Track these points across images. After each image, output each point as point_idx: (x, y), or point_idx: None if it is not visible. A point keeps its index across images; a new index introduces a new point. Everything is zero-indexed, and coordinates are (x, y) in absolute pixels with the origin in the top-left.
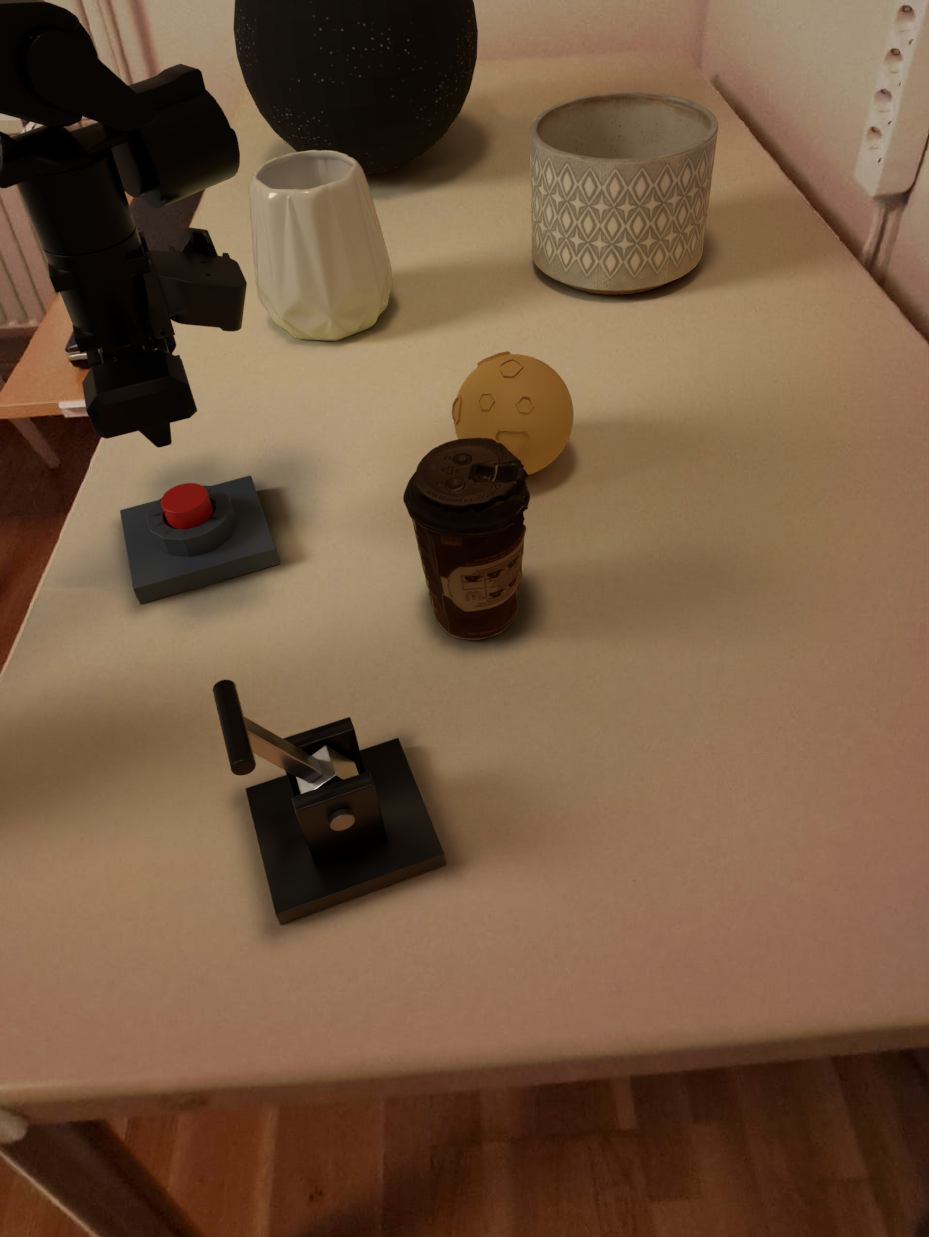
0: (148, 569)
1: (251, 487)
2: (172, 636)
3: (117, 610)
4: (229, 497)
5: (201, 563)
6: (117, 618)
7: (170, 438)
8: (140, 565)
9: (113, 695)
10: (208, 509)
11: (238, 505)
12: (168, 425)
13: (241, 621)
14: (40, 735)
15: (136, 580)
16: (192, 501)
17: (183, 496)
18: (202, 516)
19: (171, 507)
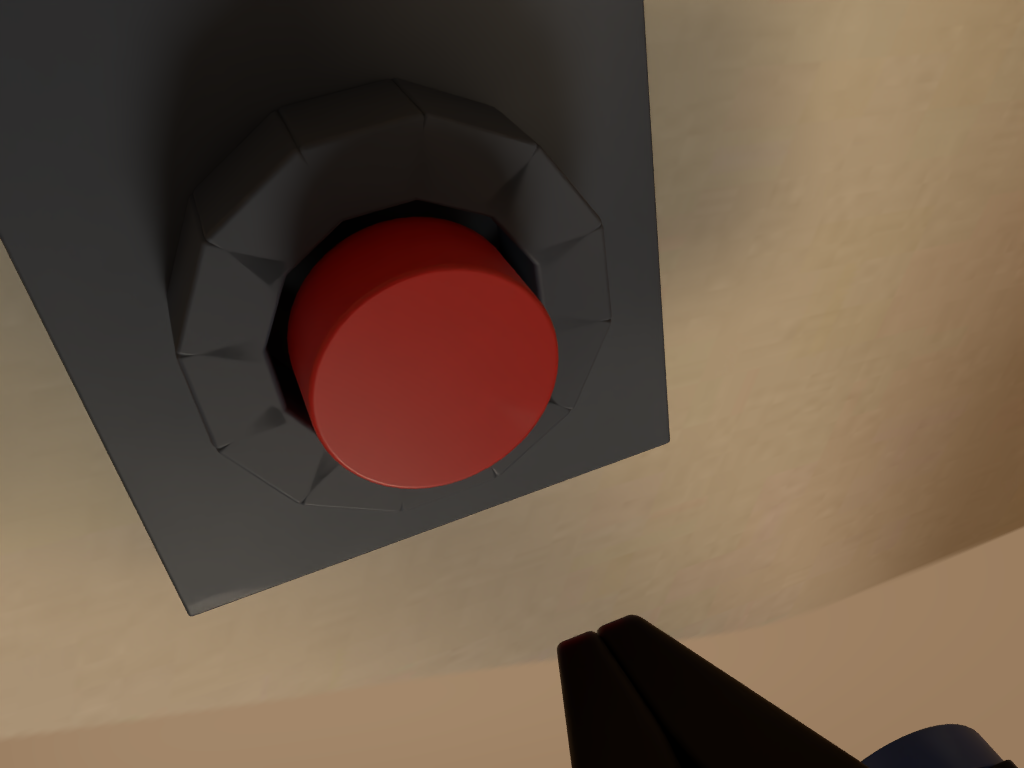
0: (592, 417)
1: (41, 4)
2: (806, 268)
3: (633, 459)
4: (144, 140)
5: (624, 222)
6: (667, 450)
7: (679, 643)
8: (560, 450)
9: (936, 383)
10: (468, 241)
11: (224, 80)
12: (806, 730)
13: (841, 27)
14: (962, 506)
15: (632, 443)
16: (484, 335)
17: (435, 389)
18: (508, 263)
19: (508, 427)
